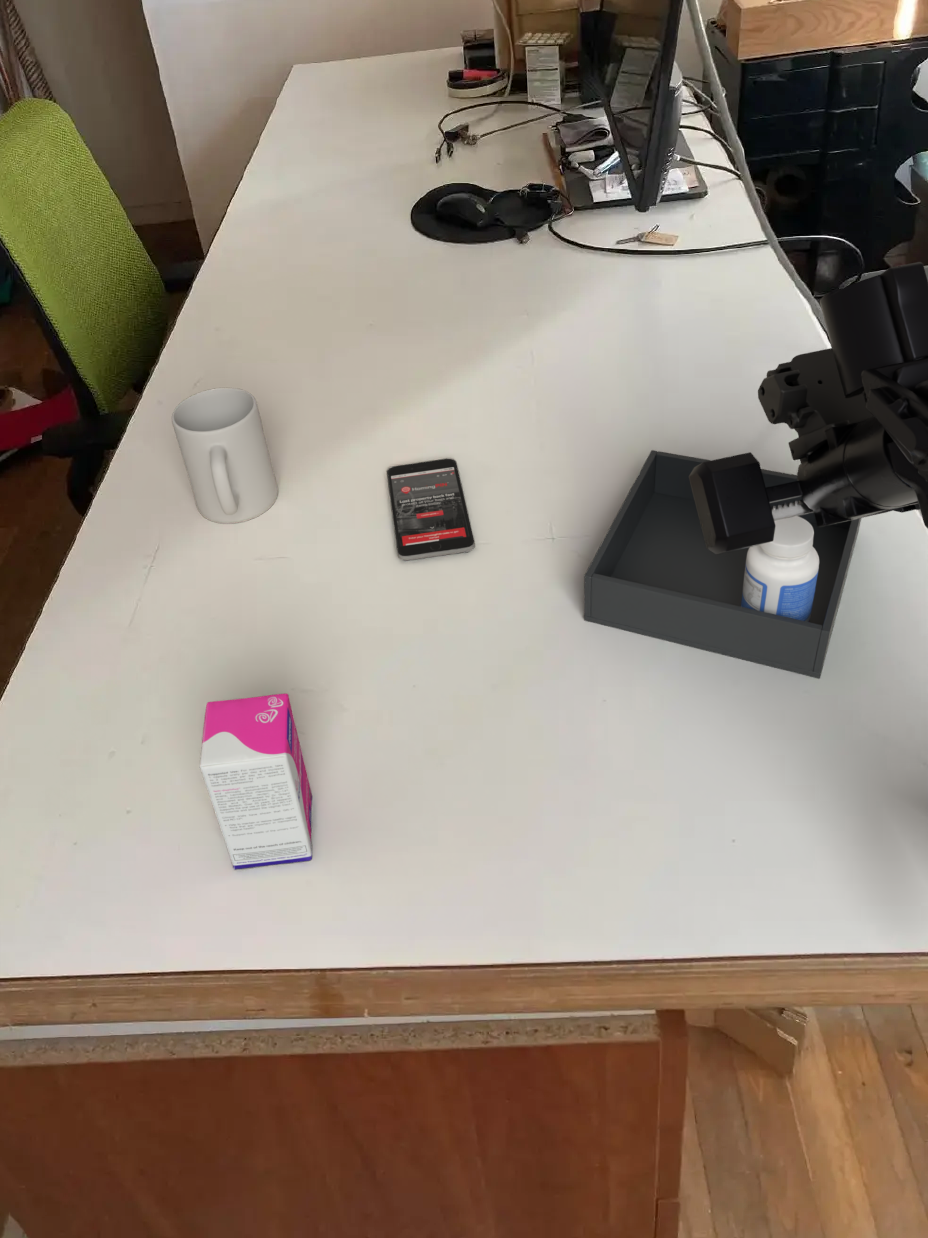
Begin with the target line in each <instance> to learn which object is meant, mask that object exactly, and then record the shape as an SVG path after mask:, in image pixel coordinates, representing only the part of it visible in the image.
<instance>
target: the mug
mask: <svg viewBox="0 0 928 1238" xmlns="http://www.w3.org/2000/svg"><path fill="white" fill-rule="evenodd" d="M171 424H172V427H173V431H174V435H175V438H176V441H177V445H178V448H179V451H180V455H181V457H182V460H183V464H184V467H185V470H186V474H187V477H188V480H189V484H190V487H191V490H192V495H193V499H194V502H195V505H196V508H197V510H198V512H199V514H200V515H201V516H202V517H203V518H204V519H207V520H208V521H210V522H212V523H217V524H223V525H225V524H226V525H230V524H233V525H234V524H239V523H244V522H247V521H250V520H253V519H255V518H258V517H260V516H262V515H263V514H264V513H266V512H267V511H268V510H270V509H271V508H272V507H273V506H274V504H275V502H276V500H277V499H278V494H279V487H278V483H277V479H276V475H275V471H274V467H273V464H272V460H271V456H270V452H269V447H268V443H267V439H266V435H265V431H264V427H263V422H262V418H261V413H260V409H259V406H258V402H257V399H256V397H255V396H254V395H253V394H252V393H251V392H249V391H247V390H245V389H243V388H242V389H241V388H238V387H215V388H209V389H206V390H202V391H200V392H196V393H194V394H192V395H190V396H187V398H185V399H183V400H182V401H181V402H180V403H178V404H177V406H176V407H175V408H174V410H173V411H172V413H171Z"/></svg>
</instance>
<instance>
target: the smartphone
mask: <svg viewBox="0 0 928 1238" xmlns="http://www.w3.org/2000/svg"><path fill="white" fill-rule="evenodd" d="M386 477H387V483H388V491H389V497H390V498H389V500H390V507H391V515H392V521H393V523H392V524H393V529H394V530H393V531H394V537H395V545H396V552H397V553H396V554H397V557H398V559H400V560H401V561H414V560H421V559H426V558H427V559H428V558H434V557H443V556H448V555H453V554H454V555H455V554H463V553H469V552H471V551H473V550H474V549H475V547H476V543H475V539H474V537H475V536H474V533H473V529H472V524H471V519H470V515H469V510H468V507H467V502H466V498H465V493H464V489H463V485H462V481H461V476H460V471H459V467H458V463H457V460H456V459H454V458H452V457H446V458H440V459H433V460H426V461H419V462H413V463H405V464H399V465H392V466H389V467H388V468H387V469H386Z"/></svg>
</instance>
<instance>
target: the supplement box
mask: <svg viewBox="0 0 928 1238" xmlns="http://www.w3.org/2000/svg"><path fill="white" fill-rule="evenodd" d="M295 722H296V721H295V718H294V713H293V709H292V704H291V701H290V696H289V693H288V692H287V693H286V692H285V693H275V694H268V695H260V696H253V697H252V696H251V697H246V698H245V697H243V698H235V699H223V700H214V701H208V702H206V706H205V712H204V719H203V728H202V737H201V746H200V757H199V770H200V773H201V775H202V778H203V780H204V784H205V788H206V789H207V792H208V796H209V799H210V802H211V805H212V808H213V811H214V813H215V816H216V819H217V823H218V825H219V826H218V827H219V829H220V831H221V834H222V837H223V840H224V843H225V846H226V849H227V852H228V855H229V858H230V861H231V865H232V869H233V870H234V871H240V870H248V869H254V868H255V869H256V868H263V867H271V866H279V865H288V864H295V863H296V864H297V863H304V862H310V861H312V859H313V845H312V815H313V813H312V811H313V810H312V809H313V795H312V794H313V793H312V789H311V786H310V785H311V784H310V781H309V776H308V772H307V768H306V763H305V759H304V756H303V751H302V747H301V742H300V739H299V734H298V730H297V726H296V723H295Z"/></svg>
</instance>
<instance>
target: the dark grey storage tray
mask: <svg viewBox="0 0 928 1238" xmlns="http://www.w3.org/2000/svg"><path fill="white" fill-rule="evenodd" d="M711 460H712V459H706V458H700V457H695V456H689V455H683V454H678V453H671V452H665V451H660V450H654V449H652V450H650V453H649V454H648V456H647V458H646V460H645V462H644V463H643V466H642V467H641V469H640V471H639V473H638V475H637V477H636V479H635V480H634V482H633V484H632V485H631V488H630V490H629V492H628V493H627V495H626V497H625V499H624V501H623V503H622V504H621V507H620V508H619V510H618V512H617V514H616V516H615V517H614V520H613V521H612V524H611V525H610V527H609V529H608V531H607V533H606V535H605V536H604V538H603V540H602V542H601V543H600V545H599V547H598V549H597V551H596V553H595V555H594V556H593V559H592V560H591V562H590V564H589V567H587V570H586V572H585V574H584V575H583V577H584V578H583V579H584V581H583V582H584V583H583V584H584V585H583V586H584V587H583V588H584V589H583V591H584V593H583V596H584V597H583V598H584V599H583V600H584V601H583V603H584V605H583V611H584V612H583V621H586V622H589V623H593V624H597V625H602V626H606V627H610V628H613V629H618V630H621V631H625V632H628V633H629V632H630V633H633V634H636V635H637V634H638V635H641V636H646V637H650V638H654V639H656V640H657V639H658V640H661V641H666V642H670V643H674V644H678V645H681V646H686V647H689V648H693V649H694V648H695V649H698V650H702V651H707V652H710V653H714V654H719V655H722V656H727V657H730V658H735V659H738V660H742V661H746V662H750V663H755V664H759V665H763V666H766V667H771V668H774V669H779V670H782V671H787V672H791V673H795V674H799V675H802V676H806V677H807V676H808V677H811V678H816V679H821V676H822V673H823V669H824V665H825V660H826V657H827V655H828V654H827V653H828V649H829V647H830V646H829V645H830V642H831V637H832V634H833V631H834V626H835V623H836V619H837V616H838V611H839V607H840V604H841V601H842V596H843V592H844V588H845V585H846V581H847V577H848V573H849V570H850V565H851V561H852V558H853V554H854V551H855V547H856V543H857V540H858V535H859V531H860V527H861V523H862V518H859V519H855V520H850V521H846V522H841V523H837V524H832V525H828V526H823V527H818V528H817V524H816V520H815V516H814V512H813V513H809V514H804V515H800V516H798V517H801V518H803V519H805V520H806V521H808V522H809V523H810V524H811V526H812V527H813V530H814V536H813V545H812V546H813V547H814V549H815V550H816V551H817V554H818V556H819V569H818V576H817V581H816V587H815V593H814V599H813V605H812V611H811V616H810V622H806V621H802V620H797V619H793V618H788V617H784V616H780V615H775V614H771V613H766V612H762V611H758V610H753V609H749V608H744V607H741V602H742V593H743V583H744V574H745V565H746V557H747V552H748V550H749V548H750V547H748V548H744V549H739V550H734V551H730V552H725V553H721V554H715V553H713V552H711V551H710V550H708V549H707V548H706V544H705V540H704V536H703V532H702V528H701V524H700V520H699V516H698V512H697V508H696V504H695V500H694V496H693V492H692V488H691V484H690V480H689V475H690V474H691V472H692V471H693V469H694V467H696V466H698V465H699V464H701V463H703V462H706V461H711ZM761 471H762V475H763V479H764V483H765V487H771V486H776V485H780V484H785V483H789V482H794V481H797V474H792V473H787V472H780V471H775V470H770V469H763V468H761ZM799 500H803V499H802V497H801V496H800V497H796V498H791V499H787V500H782V501H777V502H773V503H770V506H775V507H776V508H777V505H779V504H780V505H781V506H782V504H784V503H786V505H788V503H789V502H791V503H792V504H793V502H794V501H797V502H798V501H799ZM803 502H804V500H803Z"/></svg>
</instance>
